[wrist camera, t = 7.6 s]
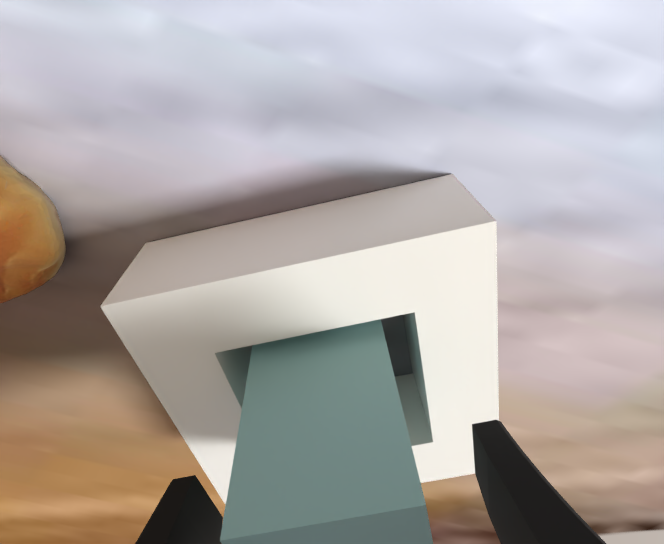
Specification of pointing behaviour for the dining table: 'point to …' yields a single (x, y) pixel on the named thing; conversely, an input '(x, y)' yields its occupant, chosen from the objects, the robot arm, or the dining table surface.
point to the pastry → (26, 235)
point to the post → (324, 446)
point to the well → (324, 312)
